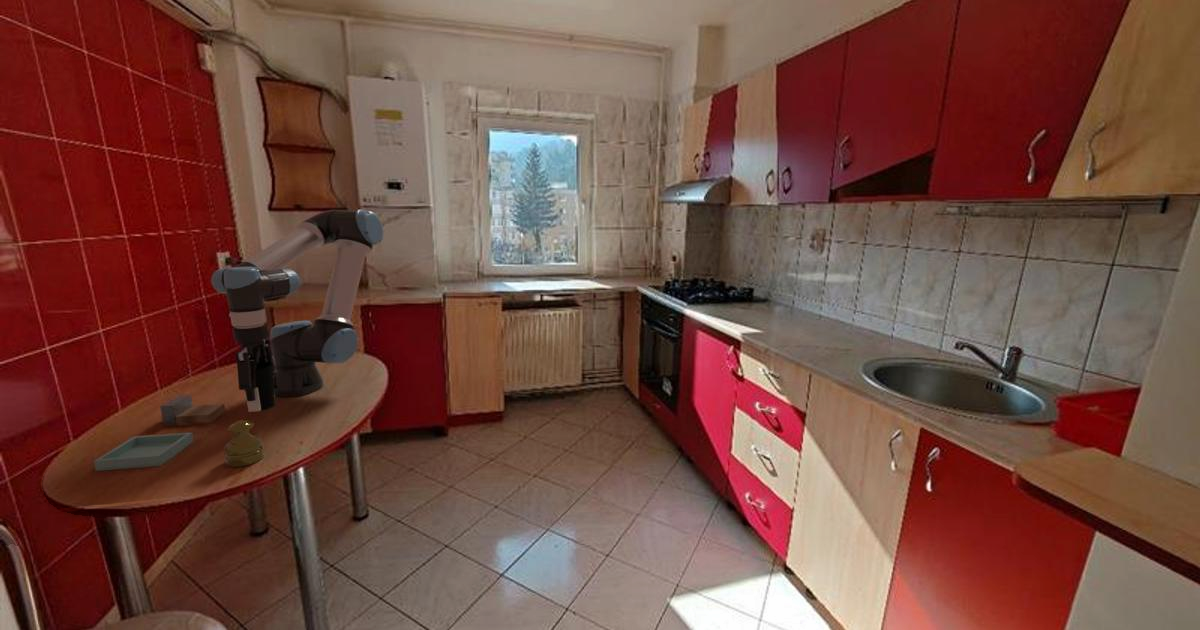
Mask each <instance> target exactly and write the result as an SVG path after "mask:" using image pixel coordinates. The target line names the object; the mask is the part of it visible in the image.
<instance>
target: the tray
mask: <svg viewBox="0 0 1200 630" xmlns="http://www.w3.org/2000/svg"><path fill="white" fill-rule="evenodd" d="M193 442H194V436H193V432H181V433H180V432H179V433H167V434H166V433H164V434H152V435H137V436H135V435H134V436H133V437H131V438H129V439H128V440H126V441H124V442H123V443H121V444H119V445H118V446H116V447H115V448H113V449H111V450H110V451H108V452H107V453H105V454H103V455H101V456H99V457H98V458H96V459H95V460H93V466H94V468H95V472H101V471H113V470H125V469H135V468H137V469H138V468H150V467H151V468H152V467H161V466H162V465H164V464H165V463H166V462H167V461H169V460H171V459H172V458H173V457H174V456H176V455H178V453H180V452H181V451H183V450H184V449H186V448H187V447H188V446H189V445H191V444H192V443H193Z"/></svg>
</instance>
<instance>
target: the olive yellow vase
mask: <svg viewBox="0 0 1200 630" xmlns="http://www.w3.org/2000/svg"><path fill="white" fill-rule="evenodd" d="M253 427H254V422H253V421H249V420H243V419H242V420H237V421H236V422H234V423H232V424H231V425H229V426H228V427H227V431H228V432H229V433H233V434H234V436H233V438H232V439H231V440H230V441H229V442H227V443H226V444H225V446H224V447H223V450H224V453H225V456H224V458H225V463H226V466H228V467H231V468H241V467H246V466H249V465H253V464H256V463H257V462H259V461H260V460H262V459H263V458H264V456H265V454H264V446H262V445H263V439H262V438H261V437H260V436H256V435H254V434H251V433H250V430H251V429H252V428H253Z"/></svg>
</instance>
